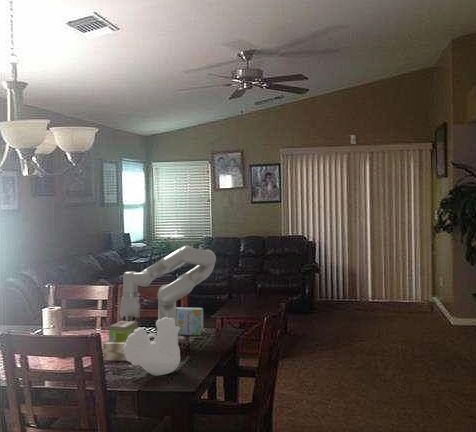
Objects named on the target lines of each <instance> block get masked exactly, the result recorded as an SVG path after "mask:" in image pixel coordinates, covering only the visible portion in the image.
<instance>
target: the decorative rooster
mask: <svg viewBox="0 0 476 432" xmlns="http://www.w3.org/2000/svg"><path fill="white" fill-rule="evenodd" d="M155 327H156V328H157V331H156V333H151V332H150V333H149V334H147V332H146V330H145V329H144V328H143V327H140V326H138V328H137V329H135V330H134V333H131V334H130V335H129V336H128V338H127V340H126V344H125V345H124V346H123V350H124V354H125V357H126V360H125V361H127V362H128V363H131V365H133V366H141V368H143V369H144V371H146V372H147V373H148V374H149V375H152V376H153V377H154V376H156V377H157V376H163V375H164V376H165V375H168V374H170V373H173V372H174V371H176V369H177V368H178V367H179V365H180V362H181V350H180V346H179V343H178V336H179V334H178V331H179V330H180V327H178V326H175V319H174V318H168V317H164V318H162V319H159V320H158V319H157V320H156V321H155ZM151 337H153V338H154V339H153V340H151V339H150V338H151Z"/></svg>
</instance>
